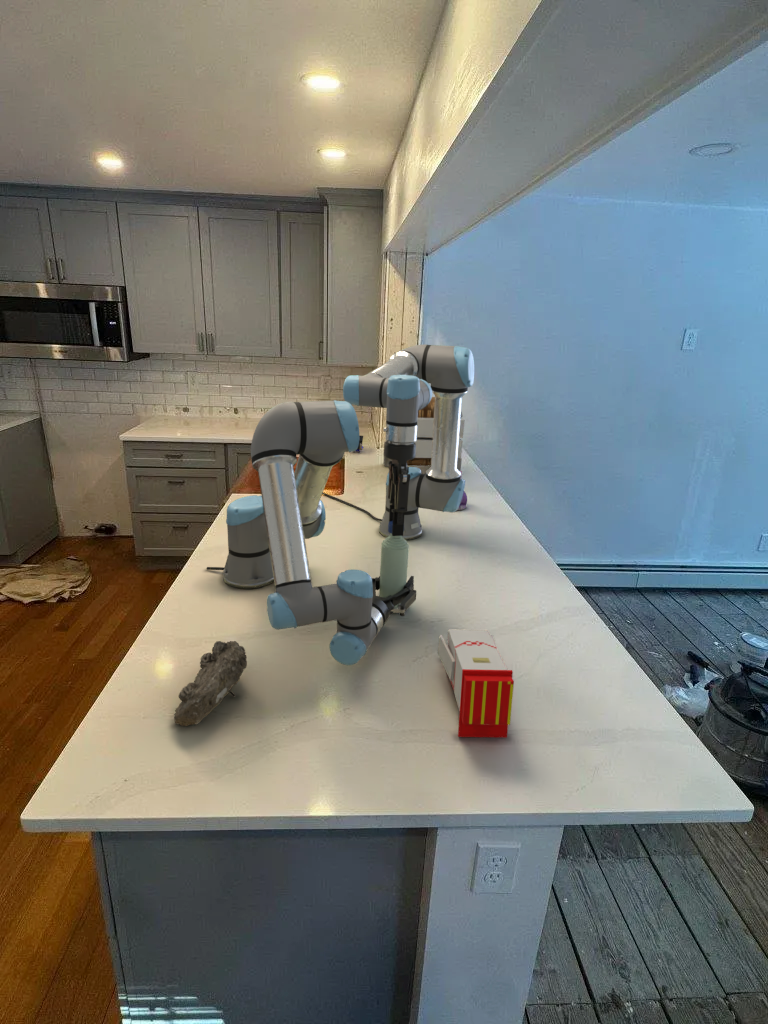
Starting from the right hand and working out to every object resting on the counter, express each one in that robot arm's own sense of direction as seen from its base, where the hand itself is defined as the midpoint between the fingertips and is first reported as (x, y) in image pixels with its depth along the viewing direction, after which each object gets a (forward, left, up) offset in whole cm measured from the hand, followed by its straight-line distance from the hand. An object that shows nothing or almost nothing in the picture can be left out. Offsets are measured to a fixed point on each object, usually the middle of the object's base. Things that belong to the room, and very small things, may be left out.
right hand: (395, 531), depth 144 cm
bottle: (0, 0, -21) cm, 21 cm away
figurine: (-45, +75, -21) cm, 90 cm away
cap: (0, 0, +2) cm, 2 cm away
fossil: (+6, -52, -21) cm, 57 cm away
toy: (+37, -11, -21) cm, 44 cm away
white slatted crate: (-90, +97, -21) cm, 134 cm away
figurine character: (-141, +99, -21) cm, 173 cm away
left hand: (-3, +4, -15) cm, 16 cm away
